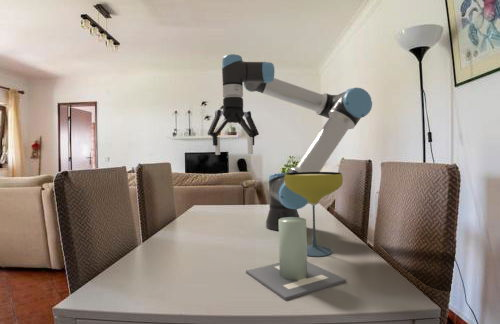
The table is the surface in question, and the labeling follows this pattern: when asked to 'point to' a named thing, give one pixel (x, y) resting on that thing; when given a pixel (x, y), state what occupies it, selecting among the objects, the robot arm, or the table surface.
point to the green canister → (293, 248)
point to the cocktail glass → (314, 196)
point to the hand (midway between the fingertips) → (234, 154)
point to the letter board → (294, 288)
